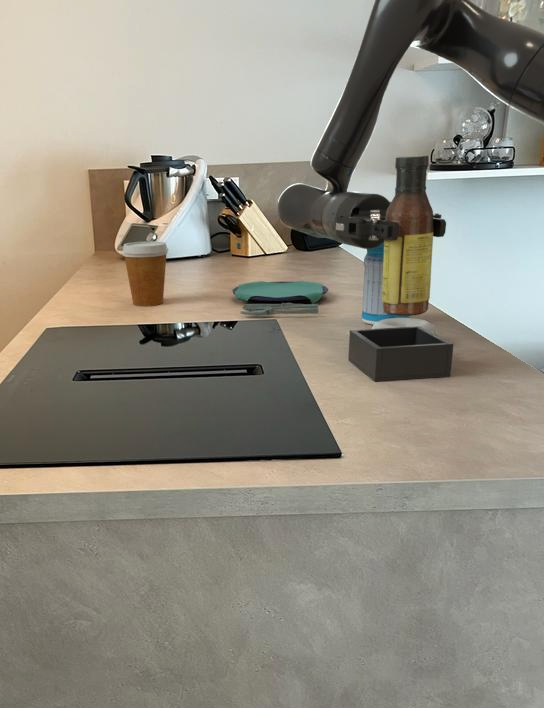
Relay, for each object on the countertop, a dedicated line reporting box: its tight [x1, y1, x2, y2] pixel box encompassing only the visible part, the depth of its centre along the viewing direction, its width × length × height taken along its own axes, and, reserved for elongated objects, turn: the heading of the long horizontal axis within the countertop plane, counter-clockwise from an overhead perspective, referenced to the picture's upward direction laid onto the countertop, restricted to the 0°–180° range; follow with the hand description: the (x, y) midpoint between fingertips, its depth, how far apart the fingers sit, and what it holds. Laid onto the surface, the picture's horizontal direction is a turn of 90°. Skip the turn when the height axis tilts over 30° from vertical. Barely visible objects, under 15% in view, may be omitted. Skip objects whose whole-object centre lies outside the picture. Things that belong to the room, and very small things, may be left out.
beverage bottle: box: [361, 201, 410, 326], centre depth 136 cm, size 8×8×20 cm
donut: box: [370, 317, 436, 335], centre depth 124 cm, size 10×4×10 cm
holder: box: [347, 326, 454, 383], centre depth 110 cm, size 11×12×4 cm
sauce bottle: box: [382, 154, 434, 317], centre depth 103 cm, size 7×6×20 cm
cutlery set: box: [232, 280, 329, 316], centre depth 159 cm, size 20×30×2 cm, turn 171°
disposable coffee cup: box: [121, 240, 169, 307], centre depth 162 cm, size 10×10×12 cm
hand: (419, 230), depth 101 cm, fingers closed on sauce bottle, 6 cm apart
